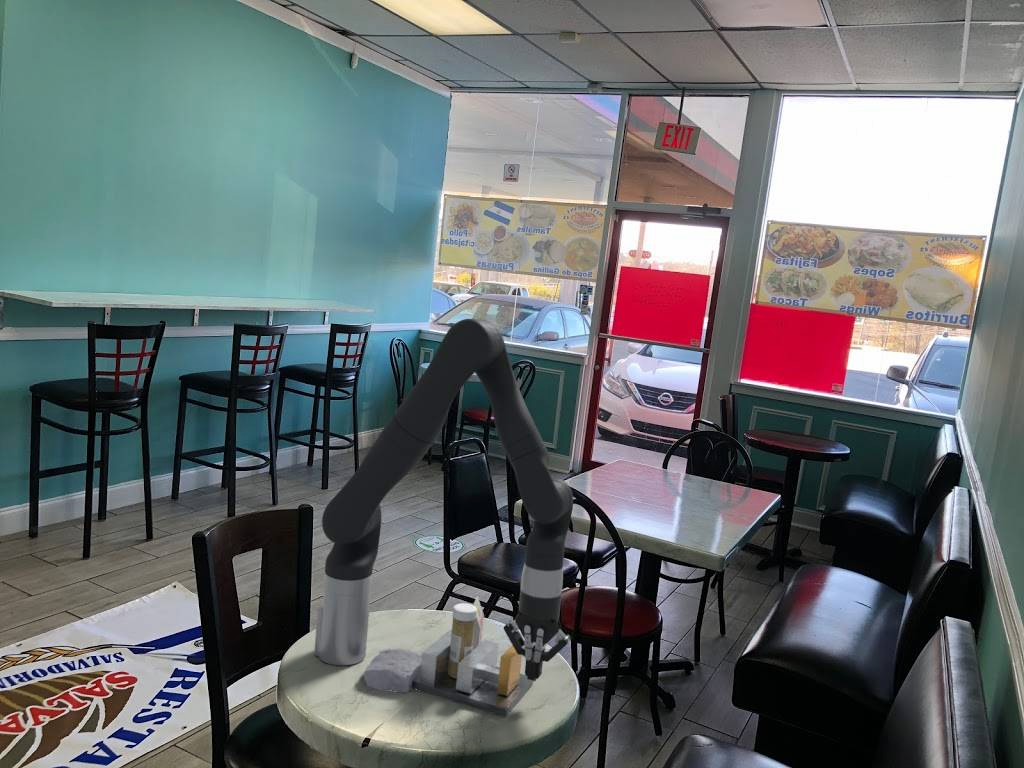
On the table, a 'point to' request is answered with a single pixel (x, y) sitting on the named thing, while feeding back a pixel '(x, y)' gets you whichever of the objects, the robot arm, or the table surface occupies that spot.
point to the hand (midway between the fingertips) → (532, 678)
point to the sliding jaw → (489, 668)
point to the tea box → (478, 624)
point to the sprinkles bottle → (461, 635)
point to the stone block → (393, 670)
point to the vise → (444, 685)
